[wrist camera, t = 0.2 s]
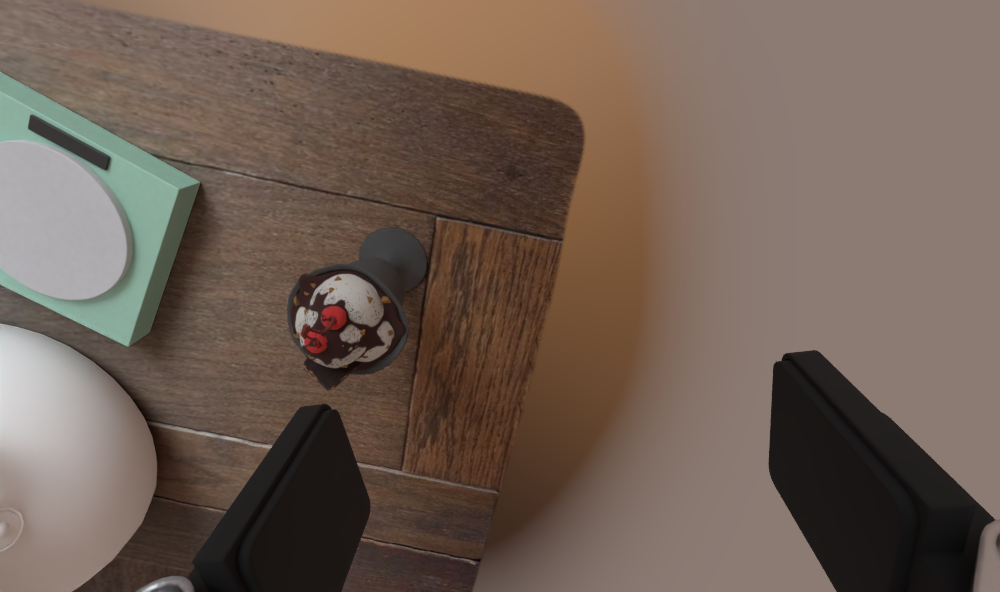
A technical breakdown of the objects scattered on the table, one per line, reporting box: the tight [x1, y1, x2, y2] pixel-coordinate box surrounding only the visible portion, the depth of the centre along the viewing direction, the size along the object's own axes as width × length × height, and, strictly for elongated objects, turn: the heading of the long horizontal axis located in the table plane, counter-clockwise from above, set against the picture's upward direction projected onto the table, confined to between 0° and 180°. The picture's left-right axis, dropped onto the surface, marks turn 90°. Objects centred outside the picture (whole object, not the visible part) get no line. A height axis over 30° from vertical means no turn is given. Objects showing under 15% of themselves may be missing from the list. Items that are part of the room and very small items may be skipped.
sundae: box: [287, 228, 427, 390], centre depth 30 cm, size 7×7×15 cm
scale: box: [0, 72, 200, 347], centre depth 36 cm, size 14×14×3 cm
